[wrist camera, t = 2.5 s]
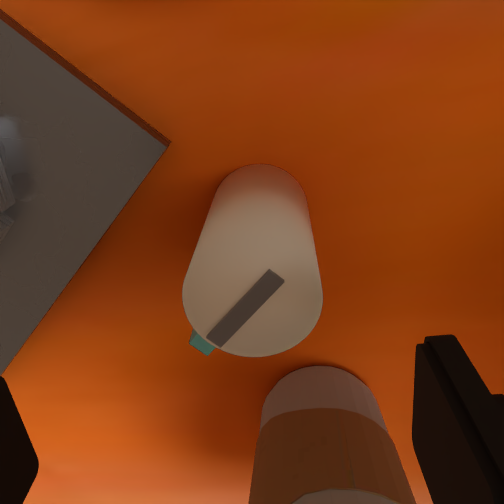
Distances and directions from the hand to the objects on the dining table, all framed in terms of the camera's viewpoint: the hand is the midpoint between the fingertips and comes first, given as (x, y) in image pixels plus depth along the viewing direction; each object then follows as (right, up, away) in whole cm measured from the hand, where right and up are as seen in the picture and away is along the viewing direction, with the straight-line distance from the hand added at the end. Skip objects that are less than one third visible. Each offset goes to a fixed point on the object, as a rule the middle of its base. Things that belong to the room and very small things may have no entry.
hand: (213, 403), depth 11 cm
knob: (+1, +5, +11) cm, 13 cm away
